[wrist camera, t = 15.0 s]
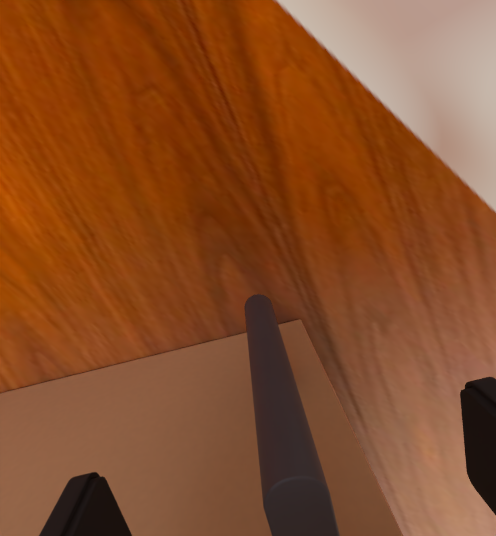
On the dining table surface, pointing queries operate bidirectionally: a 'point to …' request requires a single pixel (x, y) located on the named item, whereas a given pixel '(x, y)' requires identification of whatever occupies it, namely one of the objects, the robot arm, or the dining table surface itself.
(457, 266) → the dining table surface
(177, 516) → the cupboard door
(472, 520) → the dining table surface
